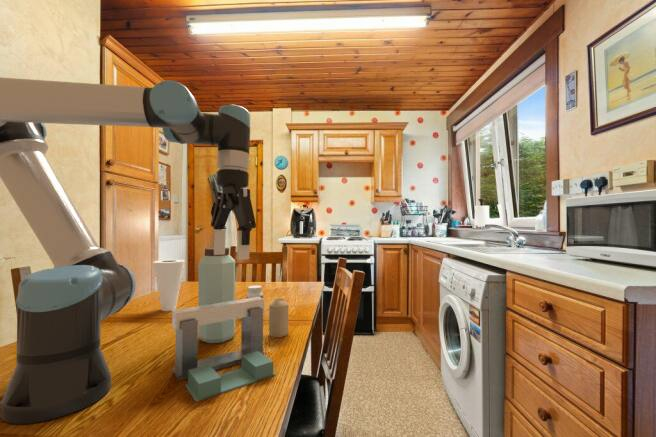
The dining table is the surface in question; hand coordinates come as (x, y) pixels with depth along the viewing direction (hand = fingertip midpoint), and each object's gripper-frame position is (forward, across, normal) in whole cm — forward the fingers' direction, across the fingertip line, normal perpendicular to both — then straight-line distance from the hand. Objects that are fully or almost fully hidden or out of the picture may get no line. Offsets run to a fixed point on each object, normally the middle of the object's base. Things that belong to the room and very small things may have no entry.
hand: (230, 257), depth 77 cm
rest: (+24, -13, +4) cm, 27 cm away
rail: (+14, -4, +3) cm, 15 cm away
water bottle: (+24, +13, -3) cm, 27 cm away
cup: (+25, +54, -1) cm, 60 cm away
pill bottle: (+24, +26, -22) cm, 41 cm away
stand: (+24, -4, +3) cm, 24 cm away
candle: (+24, +4, -17) cm, 30 cm away
